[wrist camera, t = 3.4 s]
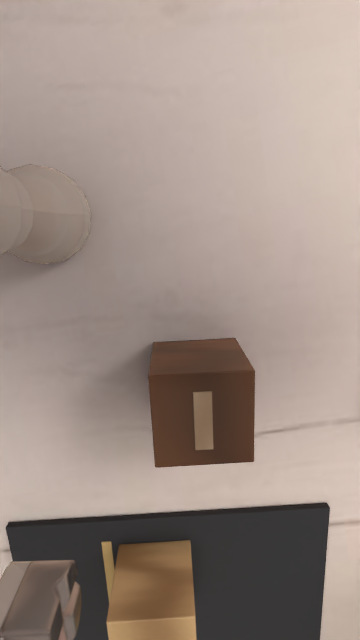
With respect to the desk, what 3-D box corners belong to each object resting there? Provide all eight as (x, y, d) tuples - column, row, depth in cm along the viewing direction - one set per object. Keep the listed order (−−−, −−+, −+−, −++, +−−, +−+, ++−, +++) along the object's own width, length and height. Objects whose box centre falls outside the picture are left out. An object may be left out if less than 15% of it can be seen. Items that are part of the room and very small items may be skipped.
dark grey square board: (53, 735, 26) (51, 744, 26) (8, 522, 21) (4, 528, 21) (311, 716, 27) (314, 725, 26) (327, 502, 22) (330, 508, 21)
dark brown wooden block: (158, 416, 20) (155, 469, 15) (152, 342, 19) (148, 376, 14) (235, 411, 20) (254, 463, 16) (235, 337, 19) (255, 370, 14)
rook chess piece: (88, 166, 16) (15, 109, 9) (97, 261, 18) (40, 284, 10) (-6, 169, 16) (-164, 115, 9) (9, 264, 18) (-119, 291, 10)
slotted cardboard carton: (124, 598, 23) (114, 687, 18) (118, 543, 22) (105, 624, 17) (192, 594, 23) (198, 681, 18) (190, 539, 22) (195, 618, 17)
